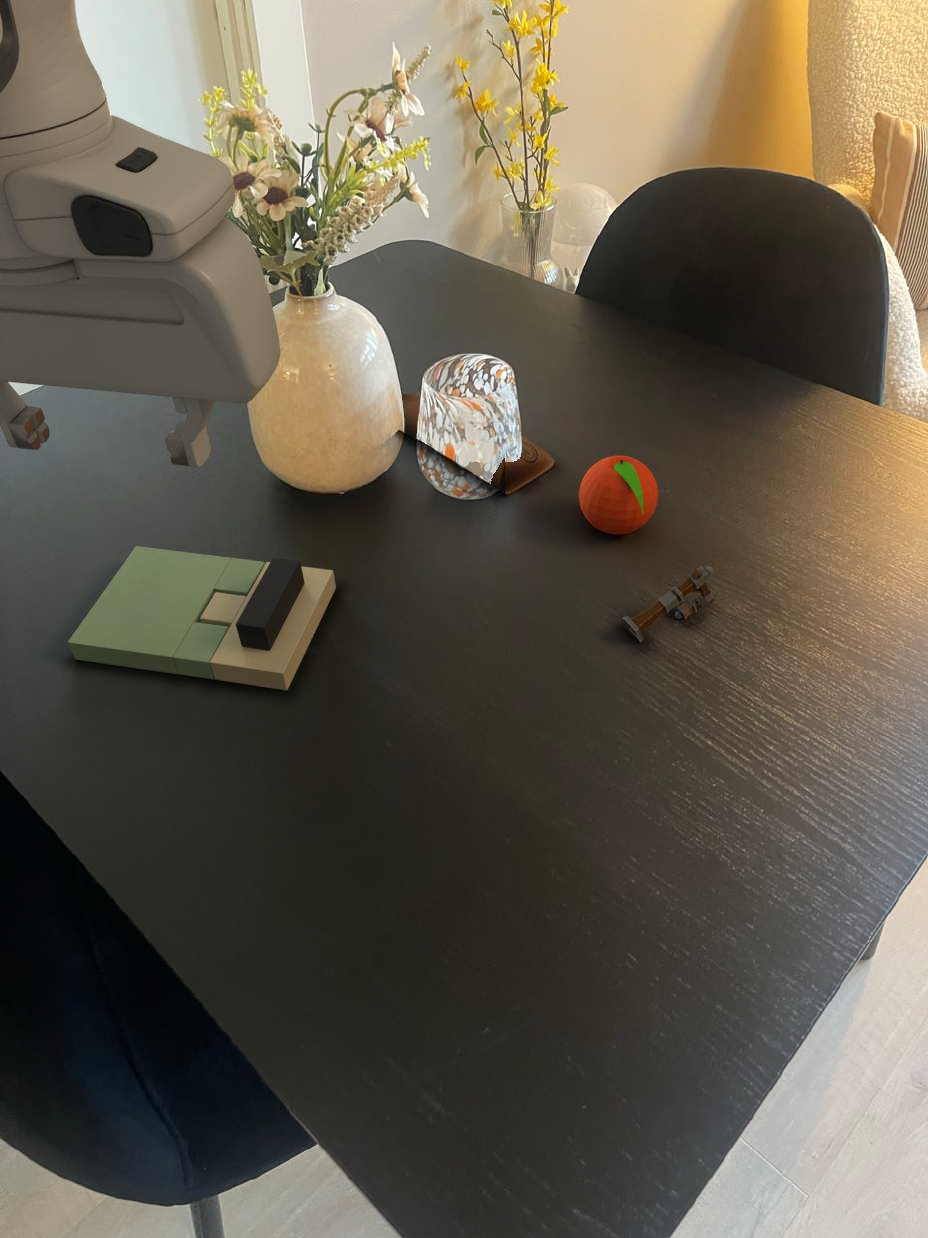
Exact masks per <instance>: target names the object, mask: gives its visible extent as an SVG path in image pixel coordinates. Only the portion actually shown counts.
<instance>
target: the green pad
mask: <svg viewBox="0 0 928 1238" xmlns="http://www.w3.org/2000/svg"><path fill="white" fill-rule="evenodd" d="M265 564H266V563H265V561H260V560H253V559H243V558H236V557H228V556H219V555H213V554H203V553H195V552H187V551H178V550H177V551H176V550H169V549H163V548H162V549H161V548H153V547H146V546H138V545H136V546H135V547H134V548H133V549H132V551H131V552H130V553H129V555H128V557H127V558H126V559H125V561H124V562H123V563H122V565H121V566H120V568H119V569H118V570H117V572H116V574H115V575H114V576H113V578H112V579H111V580H110V582H109V583H108V585H107V586H106V587H105V589H104V591H103V592H102V593H101V594H100V596H99V597H98V599H97V600H96V602H95V603H94V604H93V606H92V607H91V609H90V610H89V611H88V613H87V614H86V615H85V617H84V618H83V620H82V621H81V623H80V624H79V625H78V627H77V628H76V630H75V631H74V633H73V634H72V636H71V637H70V638H69V639H68V641H67V644H68V647H69V649H70V651H71V653H72V656H73V658H74V659H75V660H77V661H84V662H89V663H90V662H91V663H97V664H103V665H104V664H105V665H110V666H119V667H123V668H124V667H125V668H132V669H139V670H145V671H153V672H158V673H159V672H160V673H165V674H166V673H167V674H172V675H181V676H187V677H194V678H202V679H206V680H207V679H208V680H216V679H215V677H214V674H213V671H212V667H211V664H210V661H211V659H212V658H213V656H214V654H215V652H216V651H217V649H218V647H219V645H220V644H221V642H222V640H223V638H224V636H225V635H226V633H227V631H228V629H229V627H226V626H219V625H211V624H204V623H201V620H200V617H201V616H202V614H203V612H204V611H205V609H206V607H207V606H208V604H209V602H210V601H211V599H212V597H213V596H214V594H215V593H216V592H218V593H225V594H233V595H240V596H246V597H247V596H248V594H249V592H250V591H251V589H252V587H253V585H254V584H255V582H256V580H257V578H258V577H259V575H260V573H261V571H262V570H263V568H264V566H265Z"/></svg>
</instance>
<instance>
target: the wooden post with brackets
mask: <svg viewBox="0 0 928 1238" xmlns="http://www.w3.org/2000/svg"><path fill="white" fill-rule="evenodd" d="M713 571H714V569H713V567H712V566H711V565H706V566H705V567H702V565H701V566H699V567H698V568H695V570H693V571H692V572H691V573H690V574H689V575H688V576H687V577H688V578H687V579H686V580H684V581H683V582H682V583H681V584H679V585H678V586H677V587H676V585H674V586H672V588H671V590H670V589H669V590H668V591H667V592H666V593H665V594H663V595H662V596H661V597H660V598H658V599H657V600H658V601H657V602H656V603H655V604H653V605H651V606H650V607H648V608H647V609H645V610H643V611H642V612H640V613H639V614H637V615H635V616H633V617H629V616H628V615H627V614H626V615H625V616H623V617H622V619H623V621H624V624H625V626H626V627H627V629H628V630H629V632H631V634H632V635H633V636H634V637H635V638H636V639H637V640H638V641H639V642H640V643H642V641H645V638H644V634H645V632H647V630H648V629H649V628H650V627H651V626H652V625H653V624H654V623H655V622H656V621H657V620H658V619H659V618H660V617H661V616H662V615H664V614H665V613H669V612H670V611H671V610H673V609H674V608H675V607H676V610H677V611H675V613H674V617H675V619H678V620H680V619H682V618H683V619H684V620H687V618H688V617H689V616H690V615H691V614H692V613H694V612H695V613H697V614H698V609H697V606H701V605H700V604H701V603H700V602H701V601H704V602H705V603H706V604H708V605H711V604H712V603H713V602H715V600H714V595H713V593H712V591H711V590H710V589H709V587H708V585H707V582H708V581H710V580H712V579H711V575H712V574H713ZM690 593H693V594H694V593H695V594H700V595H699V596H698V598H697V597H695V596H694V597H693V599H689V598H688V597H686V596H688V595H689V594H690ZM701 597H702V598H701ZM685 600H686V601H685ZM683 601H685V602H683ZM680 602H681V603H682V602H683V603H682V604H680Z"/></svg>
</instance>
